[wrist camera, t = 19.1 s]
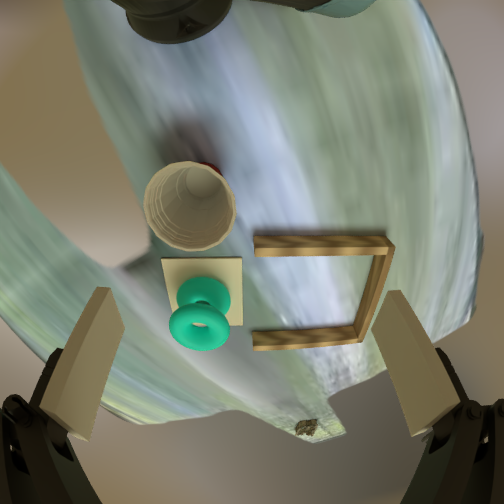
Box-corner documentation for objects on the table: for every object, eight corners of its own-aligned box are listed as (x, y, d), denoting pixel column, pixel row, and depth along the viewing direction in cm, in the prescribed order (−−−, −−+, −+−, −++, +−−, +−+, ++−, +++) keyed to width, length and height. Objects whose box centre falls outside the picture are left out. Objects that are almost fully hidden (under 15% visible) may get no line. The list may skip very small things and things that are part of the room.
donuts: (155, 330, 40) (197, 302, 37) (167, 291, 49) (204, 263, 46) (199, 360, 44) (242, 338, 42) (204, 321, 53) (242, 298, 50)
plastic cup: (167, 144, 36) (139, 160, 26) (241, 148, 37) (241, 165, 26) (167, 211, 41) (144, 249, 31) (234, 216, 42) (232, 256, 32)
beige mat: (175, 323, 54) (175, 324, 53) (161, 258, 46) (161, 259, 45) (242, 323, 54) (242, 325, 54) (241, 257, 46) (241, 258, 46)
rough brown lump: (311, 428, 88) (312, 437, 85) (292, 429, 88) (293, 438, 84) (318, 418, 83) (320, 427, 79) (299, 419, 82) (300, 429, 79)
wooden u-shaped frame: (252, 336, 56) (253, 350, 53) (253, 235, 44) (254, 248, 41) (357, 329, 57) (362, 342, 54) (385, 236, 45) (395, 247, 41)
